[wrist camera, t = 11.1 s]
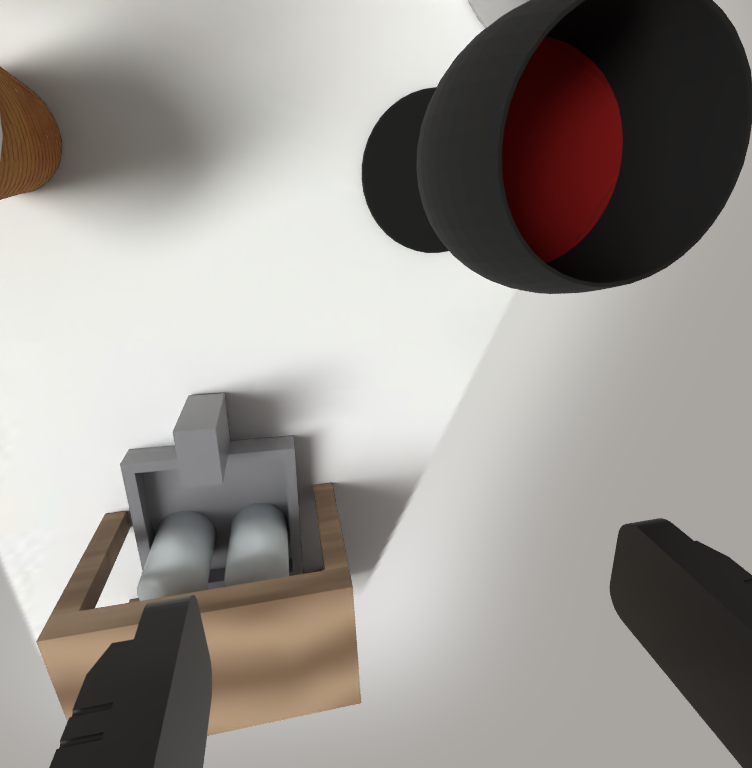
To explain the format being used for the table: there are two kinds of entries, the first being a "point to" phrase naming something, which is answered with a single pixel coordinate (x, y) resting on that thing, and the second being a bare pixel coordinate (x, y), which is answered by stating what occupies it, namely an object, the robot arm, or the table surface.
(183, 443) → the tray
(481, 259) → the wine glass
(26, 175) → the disposable coffee cup
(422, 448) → the table surface
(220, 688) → the small wooden table
